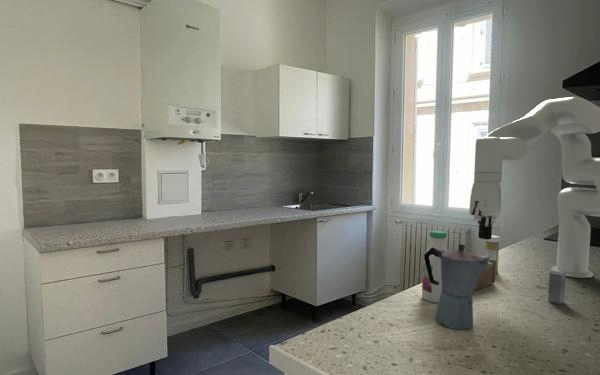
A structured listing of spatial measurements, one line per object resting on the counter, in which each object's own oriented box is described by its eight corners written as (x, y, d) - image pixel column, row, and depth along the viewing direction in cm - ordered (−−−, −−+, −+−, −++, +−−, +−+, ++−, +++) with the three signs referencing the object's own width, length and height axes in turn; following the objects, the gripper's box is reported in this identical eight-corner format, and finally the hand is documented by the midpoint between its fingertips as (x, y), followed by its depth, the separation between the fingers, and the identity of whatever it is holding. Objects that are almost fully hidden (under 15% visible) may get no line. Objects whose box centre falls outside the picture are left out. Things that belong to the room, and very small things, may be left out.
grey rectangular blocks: (479, 279, 135) (480, 255, 135) (564, 302, 114) (565, 273, 113) (474, 280, 134) (475, 256, 133) (559, 304, 112) (561, 275, 112)
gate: (495, 282, 130) (496, 260, 130) (469, 293, 119) (470, 269, 118) (487, 280, 132) (488, 258, 132) (460, 291, 121) (462, 267, 121)
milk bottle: (449, 296, 118) (452, 230, 116) (450, 305, 110) (453, 234, 109) (422, 293, 120) (424, 228, 119) (421, 301, 113) (423, 232, 112)
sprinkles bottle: (500, 272, 144) (502, 236, 143) (493, 274, 142) (495, 237, 141) (488, 269, 148) (490, 234, 147) (481, 271, 146) (483, 235, 145)
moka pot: (483, 337, 90) (487, 251, 89) (415, 322, 99) (418, 243, 97) (488, 323, 98) (492, 244, 97) (425, 310, 107) (428, 237, 105)
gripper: (489, 177, 126) (486, 234, 127) (461, 178, 118) (459, 239, 119) (513, 178, 120) (509, 238, 121) (485, 179, 111) (482, 243, 113)
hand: (484, 238), depth 120 cm, fingers closed
